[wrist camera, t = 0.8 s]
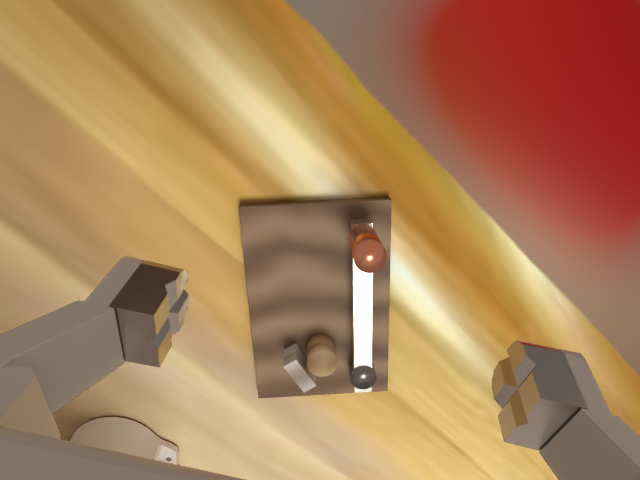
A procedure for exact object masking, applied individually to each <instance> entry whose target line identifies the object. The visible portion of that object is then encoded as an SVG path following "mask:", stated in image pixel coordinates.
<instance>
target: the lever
mask: <svg viewBox="0 0 640 480" xmlns="http://www.w3.org/2000/svg"><path fill="white" fill-rule="evenodd" d="M348 243H349V247H350V250H351V263H352V345H353V359H352V360H351V361H350V363H349V366H348V369H349V375H350V381H351V384H352V385H353V386H354V392H355V393H357V392H372V386H373V385H374V384H375V382H376V379H377V376H376V372H375V369H374V365H373V362H372V277H373V273H375V272H377V271H379V270H381V269H382V268H383V267H384V265H385V264H386V261H387V253H386V250H385V248H384V246H383V245H382V243H381V241H380V239H379V237H378V235H377V233H376V232H375V230H374V229H373V223H372V221H371V219H351V232H350V234H349V237H348Z"/></svg>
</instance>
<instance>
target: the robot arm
mask: <svg viewBox="0 0 640 480" xmlns="http://www.w3.org/2000/svg"><path fill="white" fill-rule="evenodd" d="M187 283H188V274H187V271H186V270H183V269H179V268H175V267H171V266H167V265H163V264H158V263H154V262H150V261H144V260H140V259H136V258H132V257H127V256H125V257H123V258H121V259H120V260H119V261H118V262H117V263H116V265H115V266H114V267H113V268H112V269H111V271H110V272H109V273H108V274H107V275H106V276H105V278H104V279H103V280H102V281H101V282H100V284H99V285H98V286H97V287H96V288H95V290H94V291H93V292H92V293H91V294H90V296H89V297H88V298H87V299H86V300H85V301H79V300H78V301H76V302H73V303H71V304H69V305H67V306H64V307H62V308H60V309H57V310H55V311H53V312H51V313H48V314H46V315H44V316H42V317H39V318H37V319H35V320H32V321H30V322H28V323H26V324H23V325H21V326H19V327H16V328H14V329H12V330H10V331H7V332H5V333H3V334H0V480H245V479H240V478H235V477H231V476H226V475H222V474H217V473H212V472H208V471H203V470H199V469H194V468H189V467H185V466H180V465H178V448H177V446H175V445H174V444H172V443H170V442H168V441H165V440H162V439H160V438H159V437H158V436H156V435H155V434H154V433H153V432H152V431H151V430H149V429H148V428H147V427H145V426H143V425H142V424H140V423H137V422H135V421H132V420H129V419H125V418H119V417H103V418H98V419H94V420H91V421H89V422H87V423H85V424H83V425H82V426H80V427H79V428H78V429H77V430H76V431H75V433H74V434H73V436H72V437H71V439H70V441H66V440H61V437H60V432H59V430H58V427H57V425H56V423H55V420H54V418H53V416H52V414H53V413H54V412H55V411H57V410H58V409H60V408H61V407H63V406H64V405H65V404H67V403H68V402H70V401H71V400H73V399H74V398H75V397H77V396H78V395H80V394H81V393H82V392H84V391H85V390H87V389H88V388H90V387H91V386H92V385H94V384H95V383H97V382H98V381H100V380H101V379H102V378H104V377H105V376H107V375H108V374H109V373H111V372H112V371H114V370H115V369H117V368H118V367H119V366H121V365H122V364H124V361H128V362H133V363H139V364H144V365H149V366H155V367H160V366H161V364H162V363H163V361H164V359H165V357H166V355H167V353H168V351H169V350H170V348H171V346H172V341H171V336H172V335H173V334H175V333H177V332H179V331H180V329H181V327H182V325H183V323H184V320H185V317H186V314H187V311H188V304H189V295H188V293H187V292H186V291H185V290H184V288H185V286H186V285H187ZM507 351H508V355H509V357H508V358H506V359H504V360H501V361H499V363H498V365H497V366H496V368H495V369H494V373H493V378H492V391H493V396H494V399H495V400H496V402H497V403H498V404H499V405H500V406H501V408H502V410H501V411H500V413H499V415H498V418H499V422H500V427H501V431H502V435H503V439H504V442H506V443H511V444H515V445H519V446H523V447H527V448H531V449H535V450H539V451H540V452H539V453H540V454H541V456H542V457H543V459H544V460H545V461H546V463H547V464H548V466H549V467H550V468H551V470H552V471H553V473H554V474H555V475H556V477H557V478H558V480H640V436H639V435H637V434H636V433H635V432H634V431H633V430H632V429H631V428H630V427H629V426H628V425H627V424H626V423H625V422H624V421H623V420H622V419H620V418H619V417H618V416H614V415H612V414H611V412H610V410H609V408H608V406H607V404H606V402H605V400H604V397H603V395H602V393H601V391H600V389H599V387H598V385H597V383H596V381H595V378H594V376H593V374H592V372H591V370H590V368H589V366H588V364H587V361H586V359H585V358H584V357H583V356H582V355H581V354H580V353H576V352H571V351H566V350H562V349H556V348H551V347H547V346H542V345H537V344H532V343H527V342H522V341H515V342H513V343H512V344H511V345H510V347H509V348H508V349H507ZM169 457H170V458H169Z"/></svg>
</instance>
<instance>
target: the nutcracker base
mask: <svg viewBox="0 0 640 480" xmlns="http://www.w3.org/2000/svg"><path fill="white" fill-rule="evenodd" d="M239 214H240V224H241V233H242V243H243V252H244V262H245V272H246V281H247V291H248V300H249V310H250V320H251V329H252V339H253V349H254V358H255V368H256V377H257V387H258V397H259V398H271V397H288V396H306V395H323V394H341V393H355V392H354V386H353V385H352V384H351V381H350V375H349V369H348V366H349V363H350V361H351V360H352V359H353V345H352V263H351V250H350V247H349V243H348V237H349V234H350V232H351V219H371V221H372V223H373V229H374V230H375V232H376V233H377V235H378V237H379V239H380V241H381V243H382V245H383V246H384V248H385V250H386V253H387V261H386V264H385V265H384V267H383V268H382V269H381V270H379V271H377V272H375V273H373V277H372V362H373V365H374V369H375V372H376V376H377V379H376V382H375V384H374V385H373V386H372V392H375V391H387V385H388V337H389V290H390V242H391V199H390V198H389V197H379V198H357V199H335V200H313V201H290V202H268V203H246V204H240V205H239ZM320 334H323V335H327V336H329V337H331V338H332V339H333V341H334V343H335V348H336V356H337V368H336V370H335V371H334V372H333V373H332V374H331V375H328V376H325V377H319V376H315V375H313V374H312V373H311V372H310V371H309V370H308V367H307V343H308V341H309V340H310V339H311V338H312V337H313V336H316V335H320ZM357 393H358V392H357Z"/></svg>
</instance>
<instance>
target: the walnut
mask: <svg viewBox="0 0 640 480" xmlns="http://www.w3.org/2000/svg"><path fill="white" fill-rule="evenodd" d="M307 367H308V370H309V371H310V372H311V373H312V374H313V375H315V376H319V377H325V376H328V375H331V374H332V373H333V372H334V371H335V370H336V368H337V356H336V348H335V343H334V341H333V339H332V338H331V337H329V336H327V335H323V334H320V335H316V336H313V337H312V338H311V339H310V340H309V341H308V343H307Z"/></svg>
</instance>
